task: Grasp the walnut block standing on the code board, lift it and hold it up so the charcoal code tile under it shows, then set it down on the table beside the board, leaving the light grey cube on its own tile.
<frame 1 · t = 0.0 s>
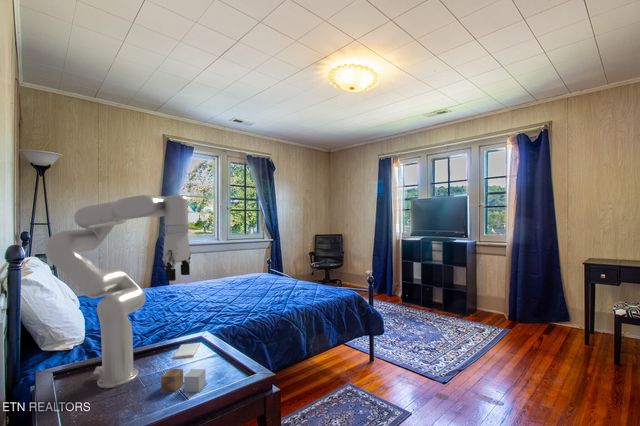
hand: (178, 277, 113), 37 cm above the table, tool pointing down, fingers open, 9 cm apart
hard drive: (187, 353, 136), on the table
code board: (184, 389, 106), on the table
walnut block: (172, 387, 107), point 1 cm above the table, touching code board
light grey cube: (195, 387, 106), point 1 cm above the table, touching code board
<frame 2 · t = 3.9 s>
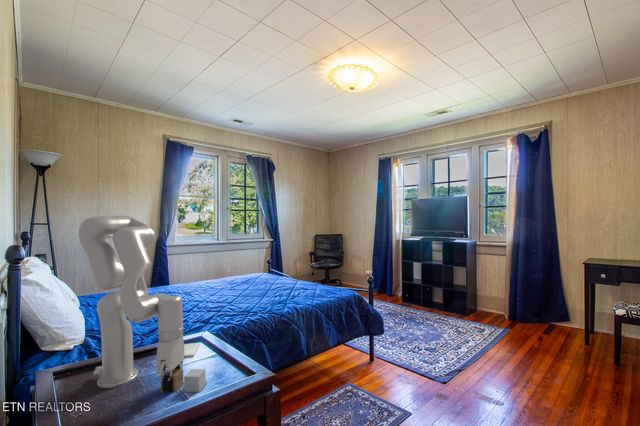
hand: (172, 386, 107), 1 cm above the table, tool pointing down, fingers closed on walnut block, 5 cm apart
walnut block: (172, 387, 107), point 1 cm above the table, touching code board, gripper
everything else where it was.
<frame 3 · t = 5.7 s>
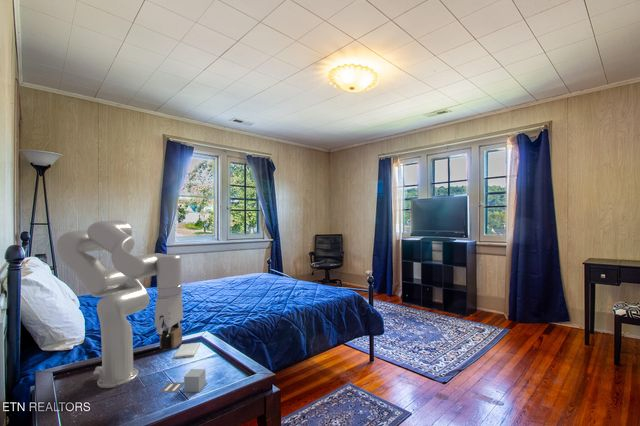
hand: (171, 344, 107), 15 cm above the table, tool pointing down, fingers closed on walnut block, 5 cm apart
walnut block: (171, 345, 107), point 15 cm above the table, touching gripper
everything else where it was.
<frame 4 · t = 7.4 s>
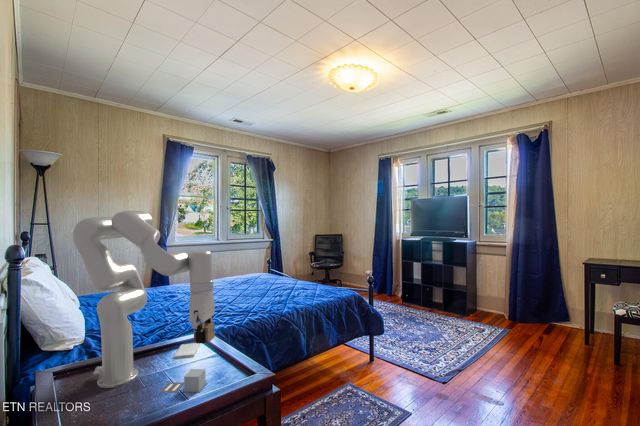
hand: (204, 339, 108), 16 cm above the table, tool pointing down, fingers closed on walnut block, 5 cm apart
walnut block: (204, 339, 108), point 16 cm above the table, touching gripper
everything else where it was.
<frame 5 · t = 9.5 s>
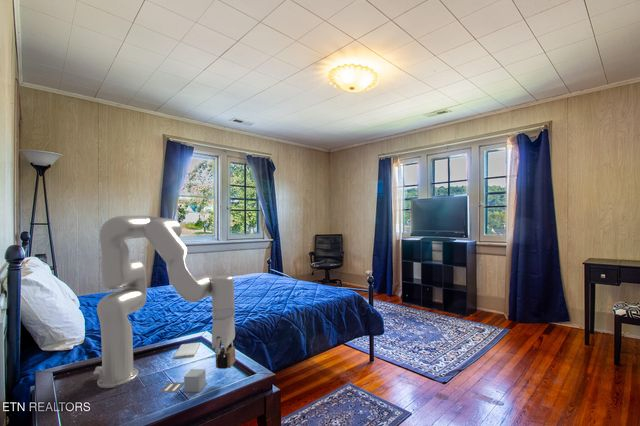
hand: (225, 363, 109), 7 cm above the table, tool pointing down, fingers closed on walnut block, 5 cm apart
walnut block: (225, 364, 109), point 7 cm above the table, touching gripper
everything else where it was.
when the fingers open (2 cm above the table, at t = 11.3 s): walnut block drops 2 cm, on the table.
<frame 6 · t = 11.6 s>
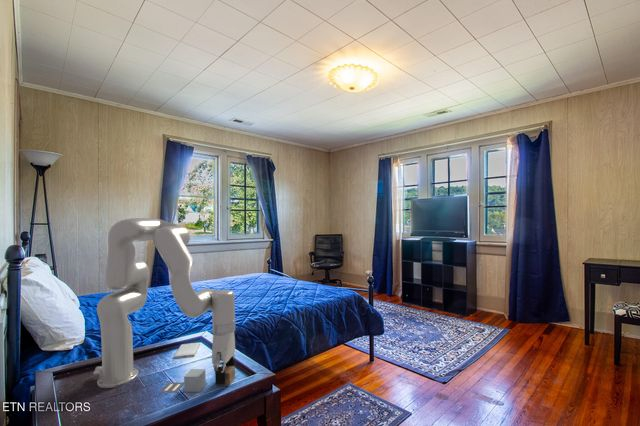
hand: (225, 376, 109), 2 cm above the table, tool pointing down, fingers open, 8 cm apart
walnut block: (225, 383, 109), on the table
everything else where it was.
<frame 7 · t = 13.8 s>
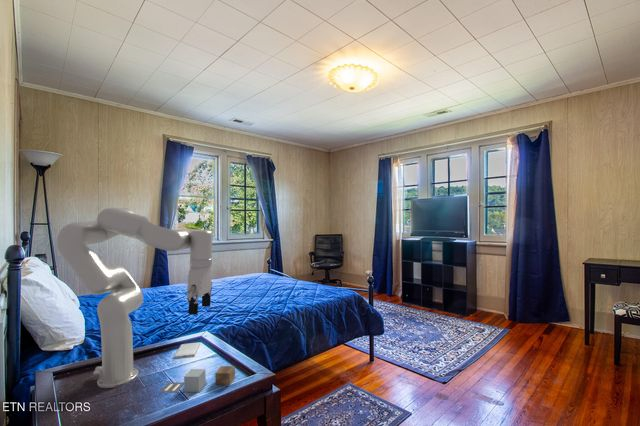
hand: (199, 310, 116), 24 cm above the table, tool pointing down, fingers open, 9 cm apart
nothing on the table moved.
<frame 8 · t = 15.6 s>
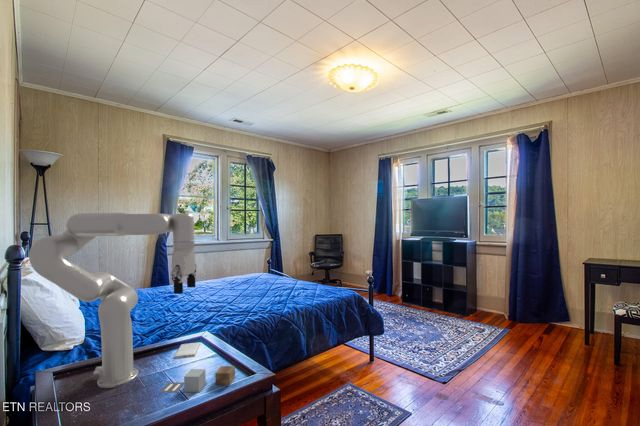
hand: (185, 290, 121), 30 cm above the table, tool pointing down, fingers open, 9 cm apart
nothing on the table moved.
at the end: walnut block inside the target area (0.1 cm from its centre), on the table; walnut block tilted 0°; light grey cube moved 0.0 cm from its start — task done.
